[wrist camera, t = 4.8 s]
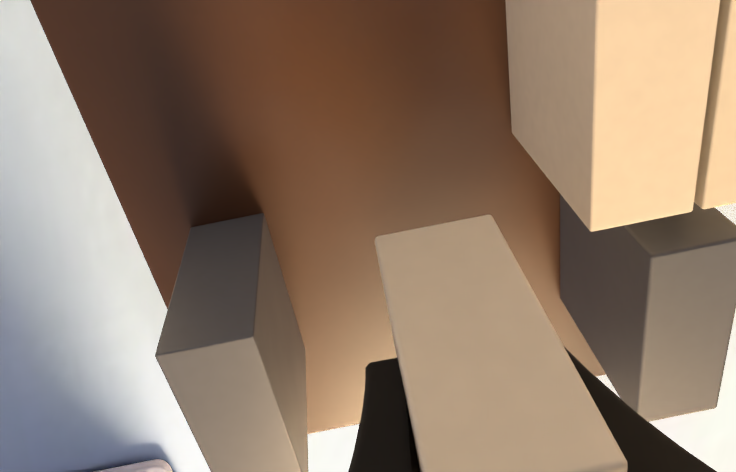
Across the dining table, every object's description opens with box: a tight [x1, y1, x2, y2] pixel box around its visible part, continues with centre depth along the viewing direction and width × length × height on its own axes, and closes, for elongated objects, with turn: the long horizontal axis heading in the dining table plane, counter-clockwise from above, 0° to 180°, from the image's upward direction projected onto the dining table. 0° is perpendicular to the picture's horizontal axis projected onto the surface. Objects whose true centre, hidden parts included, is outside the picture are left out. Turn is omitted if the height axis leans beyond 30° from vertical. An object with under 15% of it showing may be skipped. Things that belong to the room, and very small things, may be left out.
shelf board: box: [30, 0, 606, 434], centre depth 21 cm, size 18×19×1 cm
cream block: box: [505, 0, 736, 232], centre depth 15 cm, size 5×6×6 cm
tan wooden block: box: [375, 215, 628, 472], centre depth 11 cm, size 2×6×6 cm, turn 10°
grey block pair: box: [155, 194, 736, 472], centre depth 19 cm, size 14×6×6 cm, turn 100°
